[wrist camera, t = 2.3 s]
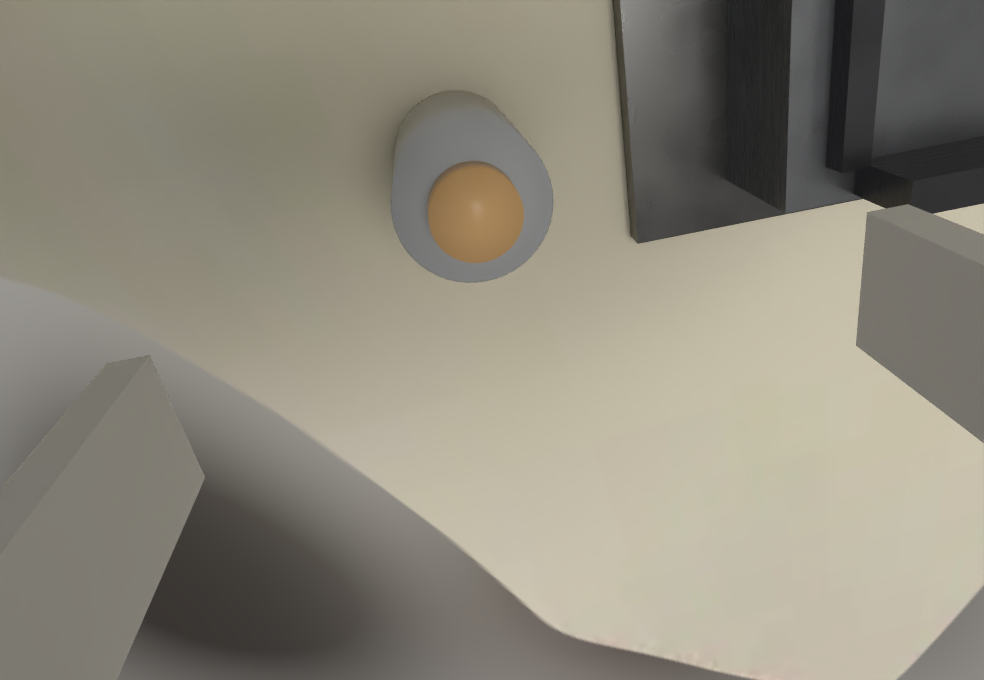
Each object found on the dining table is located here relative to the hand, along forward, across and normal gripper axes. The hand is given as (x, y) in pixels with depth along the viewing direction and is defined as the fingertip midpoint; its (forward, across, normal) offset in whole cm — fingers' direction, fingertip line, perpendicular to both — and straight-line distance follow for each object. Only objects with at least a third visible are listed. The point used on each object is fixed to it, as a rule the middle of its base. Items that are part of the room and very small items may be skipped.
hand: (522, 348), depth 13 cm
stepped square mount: (+17, +17, +2) cm, 24 cm away
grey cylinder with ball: (+17, 0, 0) cm, 17 cm away
